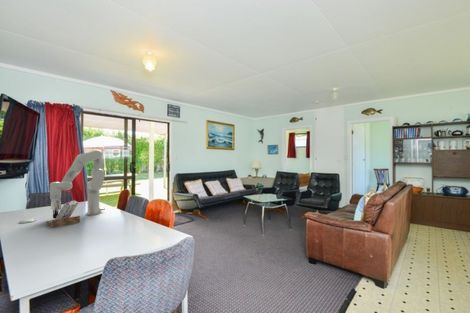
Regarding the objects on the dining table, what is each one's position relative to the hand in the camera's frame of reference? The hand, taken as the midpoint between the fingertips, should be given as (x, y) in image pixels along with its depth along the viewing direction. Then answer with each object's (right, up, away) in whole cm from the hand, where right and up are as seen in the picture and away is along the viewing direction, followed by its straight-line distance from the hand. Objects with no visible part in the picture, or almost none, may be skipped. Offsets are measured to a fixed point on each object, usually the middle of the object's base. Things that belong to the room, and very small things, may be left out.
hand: (55, 218), depth 195 cm
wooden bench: (+15, -1, -11) cm, 19 cm away
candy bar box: (+9, 0, -5) cm, 10 cm away
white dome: (-18, -1, -7) cm, 19 cm away
